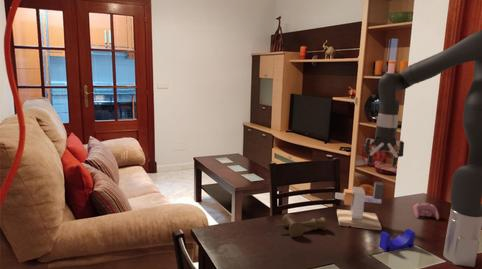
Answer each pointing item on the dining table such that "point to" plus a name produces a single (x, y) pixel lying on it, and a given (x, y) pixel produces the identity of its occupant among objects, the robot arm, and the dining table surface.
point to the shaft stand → (358, 213)
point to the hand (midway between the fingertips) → (381, 165)
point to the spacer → (348, 196)
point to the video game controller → (425, 206)
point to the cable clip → (397, 241)
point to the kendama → (302, 224)
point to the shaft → (373, 199)
